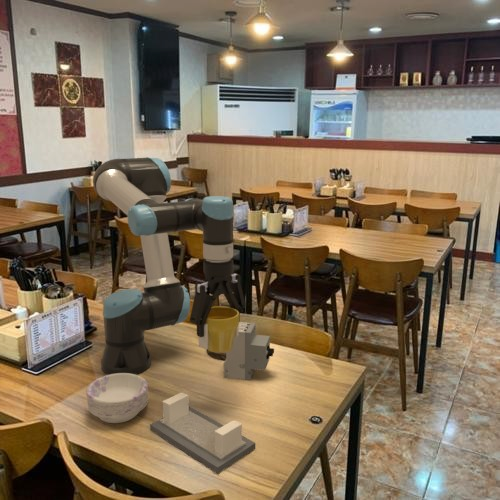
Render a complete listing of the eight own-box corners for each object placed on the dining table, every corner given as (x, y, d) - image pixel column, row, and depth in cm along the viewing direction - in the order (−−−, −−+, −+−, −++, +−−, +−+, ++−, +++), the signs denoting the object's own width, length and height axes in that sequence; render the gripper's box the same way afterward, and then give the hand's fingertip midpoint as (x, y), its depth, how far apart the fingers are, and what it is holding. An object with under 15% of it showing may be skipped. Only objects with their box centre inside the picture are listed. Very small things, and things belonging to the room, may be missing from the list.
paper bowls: (151, 424, 128) (150, 396, 126) (88, 434, 124) (85, 405, 122) (146, 395, 142) (144, 368, 140) (88, 403, 138) (86, 376, 136)
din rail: (159, 422, 126) (159, 420, 126) (184, 409, 132) (184, 407, 132) (221, 461, 112) (221, 458, 112) (246, 444, 117) (246, 442, 117)
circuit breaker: (270, 382, 149) (271, 334, 146) (223, 377, 152) (222, 330, 149) (274, 370, 156) (275, 324, 153) (229, 366, 159) (229, 321, 156)
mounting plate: (150, 429, 126) (150, 424, 125) (187, 410, 134) (187, 405, 134) (217, 473, 110) (217, 467, 110) (255, 448, 118) (255, 442, 118)
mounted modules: (163, 419, 126) (162, 401, 125) (182, 409, 131) (181, 392, 130) (222, 455, 113) (222, 435, 111) (241, 443, 117) (241, 424, 116)
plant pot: (214, 336, 141) (213, 302, 138) (246, 344, 136) (246, 310, 133) (191, 350, 132) (190, 314, 130) (224, 359, 127) (224, 322, 125)
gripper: (193, 270, 117) (195, 359, 123) (259, 253, 134) (259, 332, 139) (172, 264, 122) (175, 350, 128) (239, 248, 139) (239, 325, 144)
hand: (219, 341), depth 133 cm, fingers closed on plant pot, 10 cm apart
